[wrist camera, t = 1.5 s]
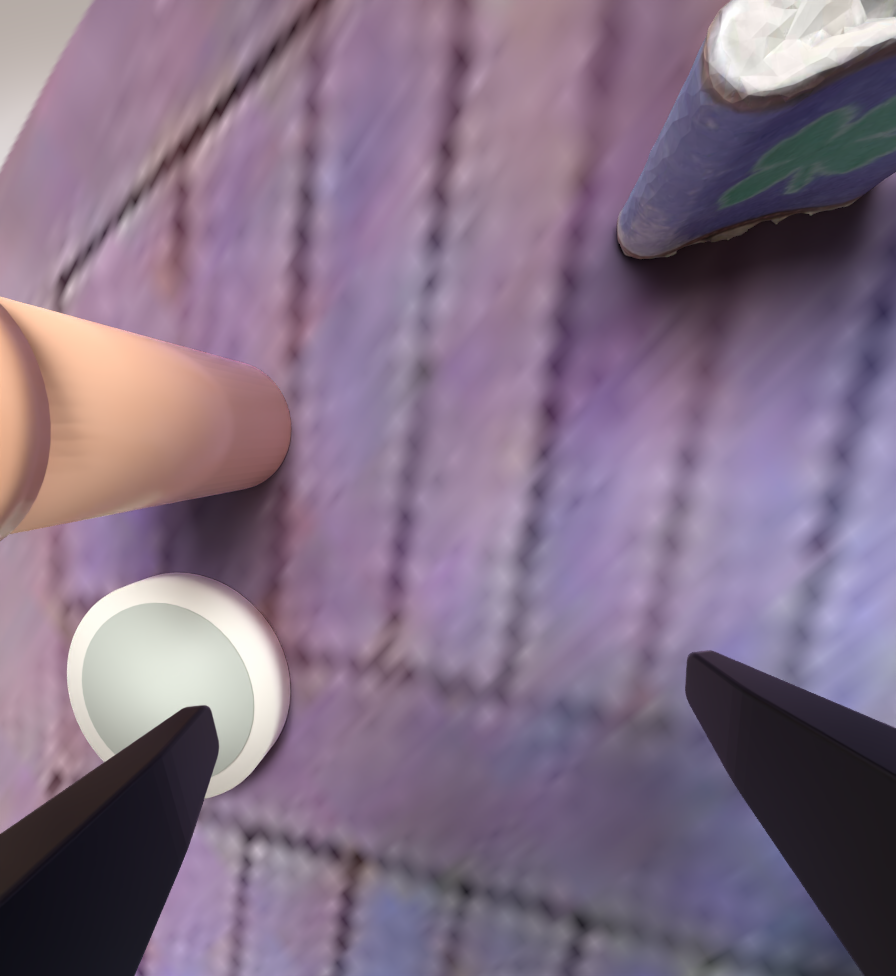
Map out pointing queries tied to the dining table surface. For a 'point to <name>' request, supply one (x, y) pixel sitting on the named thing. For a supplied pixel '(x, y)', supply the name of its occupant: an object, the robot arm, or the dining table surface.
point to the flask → (770, 123)
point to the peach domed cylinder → (123, 421)
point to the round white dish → (180, 669)
